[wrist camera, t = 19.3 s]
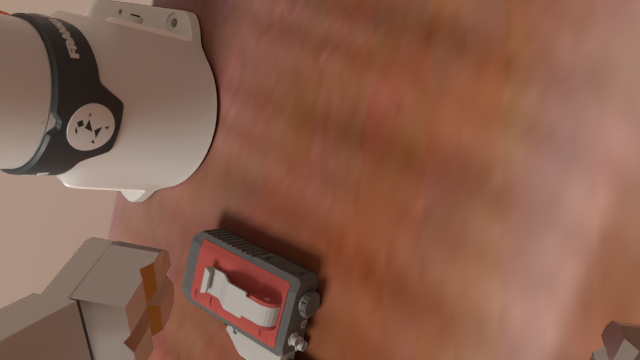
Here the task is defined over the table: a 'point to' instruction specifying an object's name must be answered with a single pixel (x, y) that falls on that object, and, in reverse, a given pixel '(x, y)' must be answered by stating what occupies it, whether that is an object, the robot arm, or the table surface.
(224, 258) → the walkie-talkie
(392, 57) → the table surface
